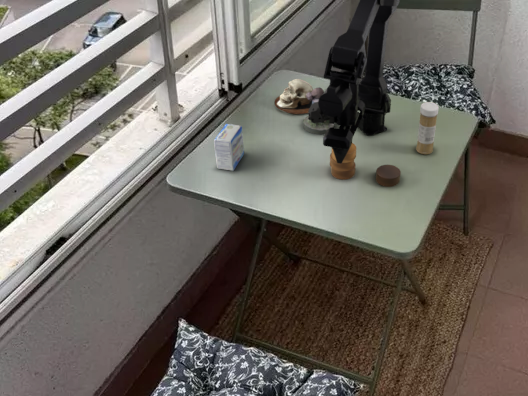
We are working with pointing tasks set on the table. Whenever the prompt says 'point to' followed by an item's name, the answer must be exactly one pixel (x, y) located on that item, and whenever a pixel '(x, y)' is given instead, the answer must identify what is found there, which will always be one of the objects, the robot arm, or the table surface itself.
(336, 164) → the chip pile
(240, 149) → the medicine box
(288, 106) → the skull
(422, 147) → the sprinkles bottle
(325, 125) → the figurine
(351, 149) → the oak chip
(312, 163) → the table surface
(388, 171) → the walnut chip
